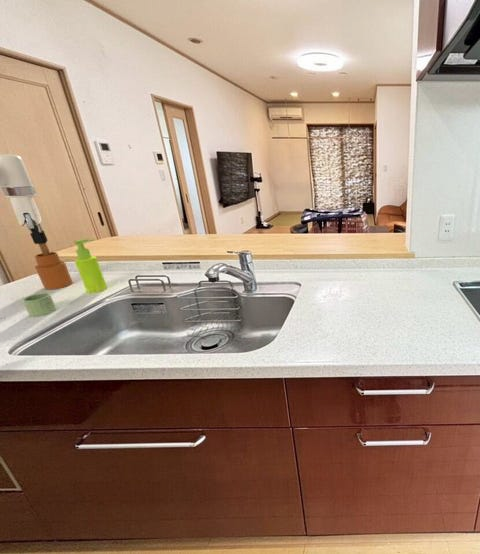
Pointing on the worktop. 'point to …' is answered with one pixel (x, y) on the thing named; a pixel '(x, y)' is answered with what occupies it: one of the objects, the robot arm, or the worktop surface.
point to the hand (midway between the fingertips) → (41, 242)
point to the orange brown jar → (52, 271)
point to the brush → (44, 249)
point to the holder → (39, 304)
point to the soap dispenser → (89, 268)
